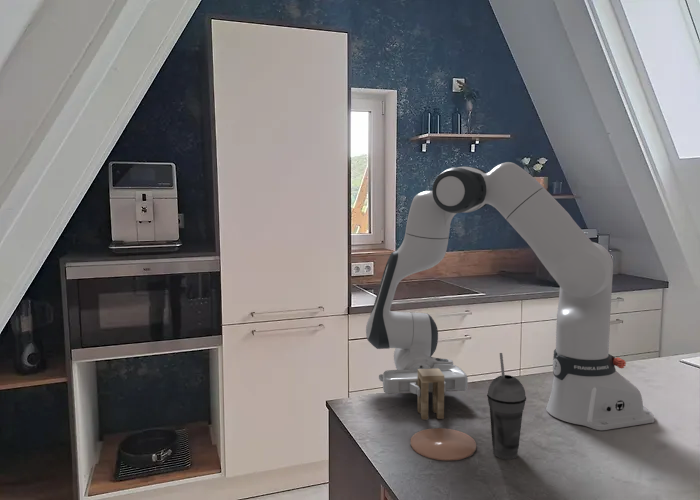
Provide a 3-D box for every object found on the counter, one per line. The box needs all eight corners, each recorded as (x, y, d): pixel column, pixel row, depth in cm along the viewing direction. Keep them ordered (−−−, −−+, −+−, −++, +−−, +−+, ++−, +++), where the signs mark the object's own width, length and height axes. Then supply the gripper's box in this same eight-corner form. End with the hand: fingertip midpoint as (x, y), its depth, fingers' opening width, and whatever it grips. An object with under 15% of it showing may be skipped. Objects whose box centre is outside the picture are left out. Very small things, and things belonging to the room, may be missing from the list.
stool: (438, 409, 128) (438, 368, 127) (443, 418, 123) (444, 375, 122) (417, 410, 127) (417, 369, 126) (422, 419, 122) (422, 376, 121)
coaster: (464, 429, 117) (465, 426, 117) (485, 458, 104) (485, 455, 104) (405, 432, 116) (405, 429, 116) (418, 462, 103) (418, 459, 103)
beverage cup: (527, 464, 102) (529, 360, 100) (486, 461, 103) (488, 358, 101) (522, 446, 109) (525, 349, 107) (485, 443, 110) (486, 347, 108)
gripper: (377, 362, 136) (386, 381, 122) (457, 359, 138) (475, 377, 124) (377, 386, 137) (386, 408, 123) (457, 383, 138) (474, 404, 125)
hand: (431, 392), depth 123 cm, fingers closed on stool, 3 cm apart
